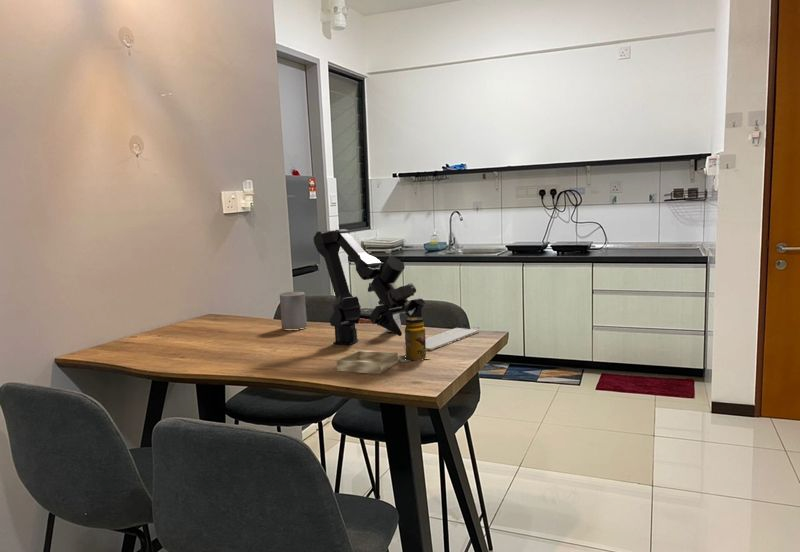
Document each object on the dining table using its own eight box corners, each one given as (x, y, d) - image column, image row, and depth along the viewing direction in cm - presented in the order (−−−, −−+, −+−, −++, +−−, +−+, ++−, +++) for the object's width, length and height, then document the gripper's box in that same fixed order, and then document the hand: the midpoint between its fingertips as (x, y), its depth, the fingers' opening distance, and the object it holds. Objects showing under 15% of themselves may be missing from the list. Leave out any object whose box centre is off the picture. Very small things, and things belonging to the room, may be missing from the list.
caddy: (337, 370, 165) (336, 360, 165) (358, 359, 177) (357, 350, 177) (379, 374, 160) (379, 363, 160) (398, 362, 172) (397, 352, 172)
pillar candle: (286, 326, 235) (283, 288, 233) (310, 325, 234) (307, 288, 232) (278, 331, 226) (275, 292, 224) (302, 331, 224) (300, 291, 222)
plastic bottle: (404, 331, 216) (402, 276, 214) (394, 334, 210) (392, 279, 208) (390, 329, 219) (387, 276, 217) (379, 333, 214) (377, 278, 211)
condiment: (430, 359, 174) (428, 319, 172) (401, 362, 172) (400, 321, 171) (423, 354, 181) (422, 315, 179) (396, 356, 179) (394, 317, 178)
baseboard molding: (399, 349, 191) (430, 353, 184) (399, 340, 191) (430, 344, 184) (450, 331, 216) (479, 334, 209) (449, 323, 216) (479, 326, 209)
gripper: (374, 278, 171) (401, 320, 164) (420, 272, 184) (447, 310, 177) (358, 303, 178) (384, 344, 171) (404, 295, 190) (429, 333, 183)
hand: (412, 332), depth 175 cm, fingers open, 9 cm apart
